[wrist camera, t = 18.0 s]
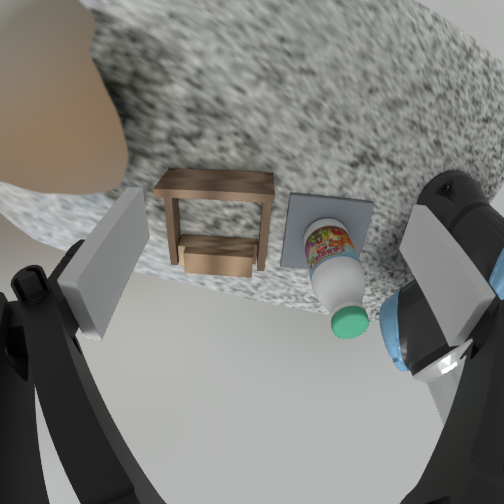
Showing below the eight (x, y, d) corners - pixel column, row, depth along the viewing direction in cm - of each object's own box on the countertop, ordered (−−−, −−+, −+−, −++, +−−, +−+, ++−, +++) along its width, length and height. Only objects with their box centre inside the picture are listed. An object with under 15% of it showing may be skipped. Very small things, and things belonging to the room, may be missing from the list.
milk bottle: (356, 234, 49) (393, 322, 33) (325, 262, 53) (346, 354, 36) (325, 207, 47) (356, 295, 30) (293, 239, 50) (305, 333, 34)
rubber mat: (373, 201, 46) (374, 203, 46) (353, 268, 54) (354, 271, 54) (290, 192, 46) (290, 194, 46) (280, 264, 54) (280, 266, 54)
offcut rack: (272, 173, 44) (274, 195, 38) (264, 258, 54) (264, 289, 47) (169, 168, 44) (152, 189, 38) (175, 252, 54) (164, 281, 47)
